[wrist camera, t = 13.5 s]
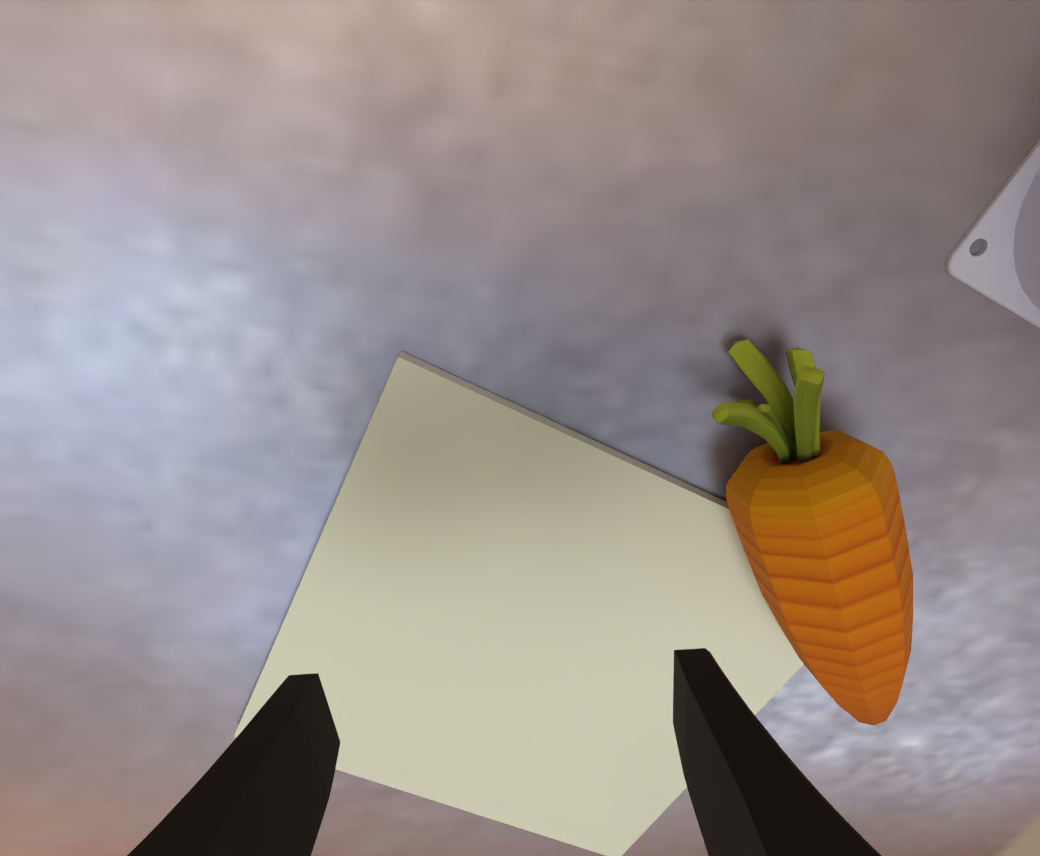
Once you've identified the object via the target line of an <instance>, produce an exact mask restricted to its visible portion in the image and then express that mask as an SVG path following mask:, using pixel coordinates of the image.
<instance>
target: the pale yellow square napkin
mask: <svg viewBox="0 0 1040 856" xmlns="http://www.w3.org/2000/svg"><path fill="white" fill-rule="evenodd" d="M698 648H706V649H707V650H708V651H709V652H711V654H712V656H713V657H714V659H715V660H716V662H717V663H718V665H719V666H720V668H721V669H722V671H723V672H724V674H725V675H726V677H727V678H728V680H729V681H730V682H731V684H732V685H733V687H734V688H735V689H736V691H737V692H738V694H739V695H740V696H741V698H742V699H743V700H744V702H745V703H746V704H747V706H748V707H749V708H750V710H751V711H752V712H753V714H754V715H756V714H757V713H758V712H759V710H760V709H761V708H762V707H763V706H764V705H765V704H766V703H767V702H768V701H769V700H770V699H771V698H772V697H773V696H774V695H775V694H776V693H777V692H778V690H779V689H780V688H781V687H782V686H783V685H784V684H785V683H786V682H787V681H788V680H789V679H790V678H791V677H792V676H793V675H794V674H795V673H796V672H797V670H798V669H799V668H800V667H801V666H802V665H803V664H804V663H803V662H802V661H801V660H800V659H799V657H798V655H797V654H796V652H795V650H794V649H793V647H792V646H791V644H790V642H789V641H788V639H787V638H786V636H785V634H784V633H783V631H782V629H781V628H780V626H779V624H778V622H777V621H776V619H775V617H774V615H773V613H772V612H771V610H770V608H769V606H768V605H767V603H766V601H765V599H764V597H763V596H762V593H761V591H760V588H759V586H758V583H757V581H756V578H755V576H754V574H753V571H752V569H751V566H750V564H749V561H748V559H747V556H746V554H745V551H744V549H743V546H742V543H741V540H740V538H739V535H738V532H737V529H736V527H735V524H734V521H733V518H732V516H731V513H730V510H729V507H728V504H727V502H726V501H724V500H722V499H720V498H717V497H715V496H713V495H711V494H709V493H707V492H705V491H702V490H700V489H698V488H696V487H694V486H692V485H689V484H687V483H685V482H683V481H681V480H679V479H676V478H674V477H672V476H670V475H668V474H666V473H664V472H661V471H659V470H657V469H655V468H653V467H651V466H648V465H646V464H644V463H642V462H640V461H638V460H635V459H633V458H631V457H629V456H627V455H625V454H623V453H620V452H618V451H616V450H614V449H612V448H610V447H607V446H605V445H603V444H601V443H599V442H597V441H594V440H592V439H590V438H588V437H586V436H584V435H582V434H579V433H577V432H575V431H573V430H571V429H569V428H566V427H564V426H562V425H560V424H558V423H556V422H553V421H551V420H549V419H547V418H545V417H543V416H541V415H538V414H536V413H534V412H532V411H530V410H528V409H525V408H523V407H521V406H519V405H517V404H515V403H512V402H510V401H508V400H506V399H504V398H502V397H500V396H497V395H495V394H493V393H491V392H489V391H487V390H484V389H482V388H480V387H478V386H476V385H474V384H471V383H469V382H467V381H465V380H463V379H461V378H459V377H456V376H454V375H452V374H450V373H448V372H446V371H443V370H441V369H439V368H437V367H435V366H433V365H430V364H428V363H426V362H424V361H422V360H420V359H418V358H415V357H413V356H411V355H409V354H407V353H405V352H402V351H401V352H400V354H399V356H398V357H397V360H396V362H395V364H394V367H393V369H392V371H391V374H390V376H389V378H388V381H387V383H386V385H385V388H384V390H383V392H382V395H381V397H380V399H379V402H378V404H377V406H376V408H375V411H374V413H373V415H372V418H371V420H370V422H369V425H368V427H367V429H366V432H365V434H364V436H363V439H362V441H361V443H360V446H359V448H358V450H357V453H356V455H355V457H354V460H353V462H352V464H351V466H350V469H349V471H348V473H347V476H346V478H345V480H344V483H343V485H342V487H341V490H340V492H339V494H338V497H337V499H336V501H335V504H334V506H333V508H332V511H331V513H330V515H329V517H328V520H327V522H326V524H325V527H324V529H323V531H322V534H321V536H320V538H319V541H318V543H317V545H316V548H315V550H314V552H313V555H312V557H311V559H310V562H309V564H308V566H307V568H306V571H305V573H304V575H303V578H302V580H301V582H300V585H299V587H298V589H297V592H296V594H295V596H294V599H293V601H292V603H291V606H290V608H289V610H288V613H287V615H286V617H285V619H284V622H283V624H282V626H281V629H280V631H279V633H278V636H277V638H276V640H275V643H274V645H273V647H272V650H271V652H270V654H269V657H268V659H267V661H266V664H265V666H264V668H263V670H262V673H261V675H260V677H259V680H258V682H257V684H256V687H255V689H254V691H253V694H252V696H251V698H250V701H249V703H248V705H247V708H246V710H245V712H244V715H243V717H242V719H241V721H240V724H239V726H238V728H237V731H236V733H235V735H234V737H236V738H237V736H238V735H239V734H240V733H241V732H242V730H243V729H244V728H245V727H246V726H247V724H248V723H249V722H250V721H251V720H252V718H253V717H254V716H255V715H256V714H257V712H258V711H259V710H260V709H261V708H262V706H263V705H264V704H265V703H266V702H267V700H268V699H269V698H270V697H271V696H272V694H273V693H274V692H275V691H276V690H277V688H278V687H279V686H280V685H281V684H282V683H283V681H284V680H285V679H286V678H287V677H288V676H289V675H299V674H314V673H318V674H319V677H320V681H321V684H322V687H323V690H324V693H325V696H326V699H327V702H328V705H329V708H330V711H331V714H332V718H333V721H334V724H335V727H336V730H337V733H338V736H339V739H340V747H339V752H338V758H337V763H336V768H335V769H337V770H340V771H343V772H346V773H349V774H352V775H355V776H358V777H362V778H365V779H368V780H371V781H374V782H377V783H380V784H383V785H387V786H390V787H393V788H396V789H399V790H402V791H405V792H409V793H412V794H415V795H418V796H421V797H424V798H427V799H430V800H434V801H437V802H440V803H443V804H446V805H449V806H452V807H455V808H459V809H462V810H465V811H468V812H471V813H474V814H477V815H481V816H484V817H487V818H490V819H493V820H496V821H499V822H502V823H506V824H509V825H512V826H515V827H518V828H521V829H524V830H527V831H531V832H534V833H537V834H540V835H543V836H546V837H549V838H553V839H556V840H559V841H562V842H565V843H568V844H571V845H574V846H578V847H581V848H584V849H587V850H590V851H593V852H596V853H599V854H603V855H606V856H622V855H623V854H624V853H625V852H626V851H627V849H628V848H629V847H630V846H631V845H632V844H633V843H634V842H635V841H636V840H637V839H638V838H639V837H640V836H641V835H642V834H643V833H644V832H645V831H646V829H647V828H648V827H649V826H650V825H651V824H652V823H653V822H654V821H655V820H656V819H657V818H658V817H659V816H660V815H661V814H662V813H663V812H664V811H665V809H666V808H667V807H668V806H669V805H670V804H671V803H672V802H673V801H674V800H675V799H676V798H677V797H678V796H679V795H680V794H681V793H682V792H683V790H684V789H685V788H686V787H687V785H686V781H685V778H684V774H683V769H682V765H681V760H680V755H679V751H678V746H677V741H676V736H675V731H674V726H673V678H674V650H682V649H698Z"/></svg>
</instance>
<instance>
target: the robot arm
mask: <svg viewBox="0 0 1040 856" xmlns="http://www.w3.org/2000/svg"><path fill="white" fill-rule="evenodd" d="M977 239H981V240H982V241H983V246H982V248H981V250H980V251H979V252H978V253H977V254H975V255H971V254H970V253H969V248H970V246H971V244H972V243H973V242H974V241H975V240H977ZM945 268H946V272H947V273H948V274H949V275H950V276H951V277H953V278H954V279H956V280H958V281H960V282H961V283H963V284H965V285H966V286H968V287H970V288H971V289H973V290H975V291H976V292H978V293H980V294H981V295H983V296H985V297H986V298H988V299H990V300H991V301H993V302H995V303H996V304H998V305H1000V306H1002V307H1003V308H1005V309H1007V310H1008V311H1010V312H1012V313H1013V314H1015V315H1017V316H1018V317H1020V318H1022V319H1023V320H1025V321H1027V322H1028V323H1030V324H1032V325H1033V326H1035V327H1037V328H1038V329H1040V139H1039V140H1038V142H1037V143H1036V144H1035V145H1034V147H1033V148H1032V149H1031V151H1030V152H1029V153H1028V154H1027V156H1026V157H1025V158H1024V160H1023V161H1022V162H1021V163H1020V165H1019V166H1018V167H1017V168H1016V170H1015V171H1014V172H1013V174H1012V175H1011V176H1010V177H1009V179H1008V180H1007V181H1006V183H1005V184H1004V185H1003V186H1002V188H1001V189H1000V190H999V191H998V193H997V194H996V195H995V197H994V198H993V199H992V200H991V202H990V203H989V204H988V206H987V207H986V208H985V209H984V211H983V212H982V213H981V215H980V216H979V217H978V218H977V220H976V221H975V222H974V223H973V225H972V226H971V227H970V229H969V230H968V231H967V232H966V234H965V235H964V236H963V238H962V239H961V240H960V241H959V243H958V244H957V245H956V247H955V248H954V249H953V250H952V252H951V253H950V254H949V256H948V258H947V260H946V264H945ZM673 726H674V731H675V736H676V741H677V746H678V751H679V755H680V760H681V765H682V769H683V774H684V778H685V781H686V785H687V788H688V791H689V794H690V798H691V801H692V804H693V807H694V810H695V814H696V817H697V820H698V823H699V826H700V830H701V833H702V836H703V839H704V842H705V846H706V849H707V852H708V855H709V856H881V855H880V854H879V853H878V852H877V851H876V850H875V849H874V848H873V847H872V846H871V845H870V844H869V843H868V842H867V841H866V840H865V839H864V838H863V837H862V836H861V835H860V834H859V833H858V832H857V831H856V830H855V829H854V828H853V827H852V826H851V825H850V824H849V823H848V822H847V821H846V820H845V819H844V818H843V817H842V816H841V815H840V814H839V813H838V812H837V811H836V810H835V809H834V808H833V807H832V805H831V804H830V803H829V802H828V801H827V800H826V799H825V798H824V797H823V796H822V795H821V794H820V793H819V791H818V790H817V789H816V788H815V787H814V786H813V785H812V784H811V782H810V781H809V780H808V779H807V778H806V777H805V776H804V774H803V773H802V772H801V771H800V770H799V769H798V768H797V767H796V765H795V764H794V763H793V762H792V761H791V759H790V758H789V757H788V756H787V755H786V754H785V752H784V751H783V750H782V749H781V748H780V746H779V745H778V744H777V743H776V741H775V740H774V739H773V738H772V736H771V735H770V734H769V733H768V731H767V730H766V729H765V728H764V726H763V725H762V724H761V723H760V721H759V720H758V719H757V718H756V716H755V715H754V714H753V712H752V711H751V710H750V708H749V707H748V706H747V704H746V703H745V702H744V700H743V699H742V698H741V696H740V695H739V694H738V692H737V691H736V689H735V688H734V687H733V685H732V684H731V682H730V681H729V680H728V678H727V677H726V675H725V674H724V672H723V671H722V669H721V668H720V666H719V665H718V663H717V662H716V660H715V659H714V657H713V656H712V654H711V652H709V651H708V650H707V649H706V648H698V649H682V650H674V678H673ZM339 747H340V739H339V736H338V733H337V730H336V727H335V724H334V721H333V718H332V714H331V711H330V708H329V705H328V702H327V699H326V696H325V693H324V690H323V687H322V684H321V681H320V677H319V674H318V673H314V674H299V675H289V676H288V677H287V678H286V679H285V680H284V681H283V683H282V684H281V685H280V686H279V687H278V688H277V690H276V691H275V692H274V693H273V694H272V696H271V697H270V698H269V699H268V700H267V702H266V703H265V704H264V705H263V706H262V708H261V709H260V710H259V711H258V712H257V714H256V715H255V716H254V717H253V718H252V720H251V721H250V722H249V723H248V724H247V726H246V727H245V728H244V729H243V730H242V732H241V733H240V734H239V735H238V736H237V738H236V739H235V740H234V741H233V742H232V743H231V745H230V746H229V747H228V748H227V749H226V750H225V751H224V753H223V754H222V755H221V756H220V757H219V758H218V760H217V761H216V762H215V763H214V764H213V765H212V766H211V768H210V769H209V770H208V771H207V772H206V773H205V775H204V776H203V777H202V778H201V779H200V780H199V781H198V782H197V783H196V785H195V786H194V787H193V788H192V789H191V790H190V791H189V792H188V793H187V794H186V795H185V796H184V797H183V799H182V800H181V801H180V802H179V803H178V804H177V805H176V806H175V807H174V808H173V809H172V810H171V811H170V813H169V814H168V815H167V816H166V817H165V818H164V819H163V820H162V821H161V822H160V823H159V824H158V825H157V826H156V827H155V828H154V829H153V830H152V831H151V832H150V833H149V834H148V836H147V837H146V838H145V839H144V840H143V841H142V842H141V843H140V844H139V845H138V846H137V847H136V848H135V849H134V850H133V851H132V852H130V853H129V854H128V855H127V856H311V853H312V850H313V847H314V844H315V841H316V838H317V834H318V831H319V828H320V825H321V822H322V819H323V816H324V812H325V809H326V806H327V803H328V799H329V796H330V791H331V787H332V782H333V778H334V773H335V768H336V763H337V758H338V752H339Z"/></svg>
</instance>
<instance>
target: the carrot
mask: <svg viewBox="0 0 1040 856" xmlns="http://www.w3.org/2000/svg"><path fill="white" fill-rule="evenodd" d="M728 353H729V355H730V356H731V357H732V359H733V360H734V361H735V363H736V364H737V365H738V367H739V368H740V369H741V371H742V372H743V373H744V374H745V375H746V377H747V378H748V379H749V380H750V381H751V383H752V384H753V385H754V386H755V387H756V388H757V390H758V391H759V392H760V393H761V394H762V396H763V397H764V399H765V400H766V402H767V403H768V404H760V405H757V404H756V403H755V402H754V401H753V400H739V401H738V403H722V404H721V405H719V406H717V407H716V408H715V409H714V410H713V411H712V416H713V419H714V420H715V421H716V422H717V423H718V424H723V425H734V426H741V427H743V428H746V429H748V430H750V431H752V432H754V433H756V434H757V435H759V436H761V437H762V438H764V439H765V440H766V441H767V442H768V443H766V444H763V445H761V446H758V447H756V448H754V449H752V450H750V451H749V453H748V454H747V456H746V457H745V458H744V460H743V461H742V462H741V464H740V465H739V467H738V468H737V469H736V471H735V472H734V474H733V475H732V477H731V478H730V480H729V481H728V483H727V484H726V499H727V504H728V507H729V510H730V513H731V516H732V518H733V521H734V524H735V527H736V529H737V532H738V535H739V538H740V540H741V543H742V546H743V549H744V551H745V554H746V556H747V559H748V561H749V564H750V566H751V569H752V571H753V574H754V576H755V578H756V581H757V583H758V586H759V588H760V591H761V593H762V596H763V597H764V599H765V601H766V603H767V605H768V606H769V608H770V610H771V612H772V613H773V615H774V617H775V619H776V621H777V622H778V624H779V626H780V628H781V629H782V631H783V633H784V634H785V636H786V638H787V639H788V641H789V642H790V644H791V646H792V647H793V649H794V650H795V652H796V654H797V655H798V657H799V659H800V660H801V661H802V662H803V663H804V665H805V666H806V667H807V668H808V670H809V671H810V672H811V673H812V674H813V676H814V677H815V678H816V679H817V681H818V682H819V683H820V684H821V685H822V687H823V688H824V689H825V690H826V691H827V692H828V693H829V695H830V696H831V697H832V698H833V699H834V700H835V701H836V703H837V704H838V705H839V706H840V707H842V708H843V709H844V710H845V711H846V712H848V713H849V714H850V715H851V716H853V717H854V718H855V719H856V720H858V721H859V722H862V723H866V724H870V725H876V724H879V723H881V722H884V721H886V720H887V718H888V717H889V715H890V713H891V712H892V710H893V708H894V707H895V705H896V703H897V701H898V698H899V694H900V690H901V687H902V683H903V680H904V676H905V672H906V668H907V664H908V660H909V656H910V652H911V642H912V623H913V573H912V567H911V560H910V554H909V547H908V541H907V535H906V528H905V523H904V518H903V513H902V508H901V503H900V498H899V493H898V488H897V483H896V478H895V473H894V470H893V468H892V465H891V462H890V461H889V459H888V458H887V456H886V455H885V453H884V452H882V451H880V450H878V449H876V448H874V447H872V446H870V445H868V444H866V443H864V442H862V441H860V440H858V439H855V438H853V437H851V436H849V435H847V434H845V433H843V432H840V431H831V430H830V431H819V430H820V393H821V389H822V385H823V380H824V375H825V372H823V371H821V370H819V369H817V368H816V367H815V364H814V360H813V356H812V353H811V352H809V351H806V350H804V349H801V348H798V347H796V348H792V349H788V350H787V351H786V354H787V359H788V363H789V367H790V372H791V375H792V379H793V383H794V386H795V391H794V398H792V396H791V394H790V392H789V390H788V388H787V386H786V384H785V383H784V382H783V380H782V379H781V378H780V376H779V375H778V373H777V372H776V371H775V369H774V368H773V367H772V365H771V364H770V362H769V361H768V360H767V359H766V357H765V356H764V355H763V354H762V353H761V352H760V351H759V350H758V349H757V348H756V346H755V345H754V344H753V343H752V342H751V341H750V340H749V339H745V340H741V341H736V342H735V343H734V344H733V345H732V347H731V348H730V349H729V351H728Z"/></svg>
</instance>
